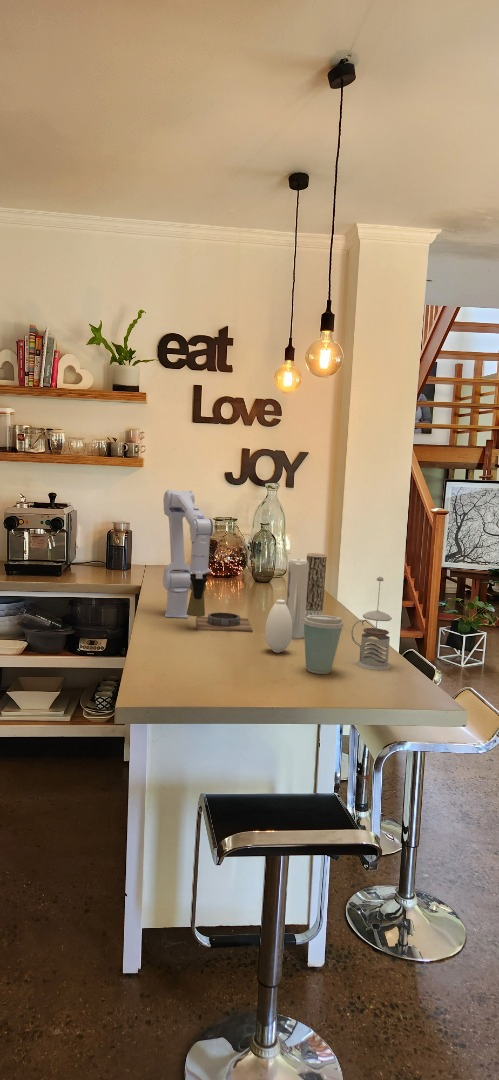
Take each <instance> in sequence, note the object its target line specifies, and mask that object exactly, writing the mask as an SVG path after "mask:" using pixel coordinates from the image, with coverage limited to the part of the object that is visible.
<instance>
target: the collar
mask: <svg viewBox="0 0 499 1080" xmlns="http://www.w3.org/2000/svg"><path fill="white" fill-rule="evenodd" d="M207 617H208V624H210V625H214V626H220V627H233V626H238V625H240V618H241V616H240V615H239V614H236V613H230V612H222V611H221V612H211V613H208V614H207Z"/></svg>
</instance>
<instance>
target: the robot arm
mask: <svg viewBox="0 0 499 1080" xmlns="http://www.w3.org/2000/svg"><path fill="white" fill-rule="evenodd" d="M195 500H196V499H195V494H194V491H192V490H172V489H171V490H170V489H167V490H166V491H164V495H163V499H162V501H163V512H164V513H163V514H164V515H165V516H167V517H168V524H169V525H168V526H169V527H168V528H169V546H170V547H169V549H170V563H169V564H168V565H166V566H165V567H164V569H163V574H162V575H163V577H162V585H163V586H162V587H163V588H164V589H165V590H166V592H167V593H166V595H167V596H166V610H165V613H164V617H165V618H184V619H185V618H186V619H187V618H189V615H187V609H188V602H189V601H188V600H189V599H188V597H189V595H188V594H189V592H190V591H191V589H190V584H191V582H192V585H193V592H194V599H201V598H202V594H203V589H204V586H205V584H206V585H207V582H208V578H207V577H208V573H212V569H211V568H210V569H209V560H210V559H209V557H210V556H209V555H210V542H211V539H210V538H211V537H212V535H213V533H214V522H213V520H212V518H210V517H209V518H208V517H205V514H204V513H203V511H202V510H201V509H200V507H198V506H196V505H195ZM184 518H185V520H186V522H187V523H188V525H189V534H190V542H191V551H190V565H189V564H188V563H187V562H186V561H185V542H184V540H185V539H184V537H185V536H184V523H183V522H184V521H183V519H184Z"/></svg>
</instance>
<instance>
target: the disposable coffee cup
mask: <svg viewBox="0 0 499 1080" xmlns="http://www.w3.org/2000/svg"><path fill="white" fill-rule="evenodd" d="M342 620H343V619H342V617H340V616H333V615H326V614H323V615H308V616H306V617H305V618H304V620H303V622H304V652H305V653H304V654H305V656H304V657H305V666H306V671H308V672H309V673H312V674H320V675H325V674H330V673H331V670H332V668H333V665H334V660H335V656H336V654H337V649H338V645H339V640H340V638H341V633H342V628H344V622H343V621H342Z"/></svg>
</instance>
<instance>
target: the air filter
mask: <svg viewBox="0 0 499 1080" xmlns="http://www.w3.org/2000/svg"><path fill="white" fill-rule="evenodd" d="M308 571H309V563H307V559H303V558H302V559H301V558H290V559H289V561H288V567H287V581H286V582H287V583H286V597H285V598H286V599H285V604H286V606H287V607H288V609H289V612H290V615H291V619H292V638H291V640H292V639H294V640H299V639H303V638H304V622H303V620H304V618H305V615H306V600H307V586H308ZM304 639H305V638H304Z"/></svg>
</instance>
